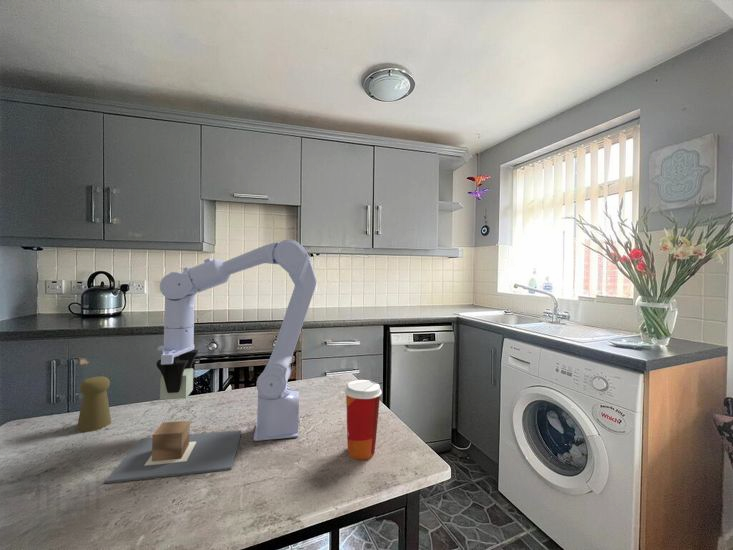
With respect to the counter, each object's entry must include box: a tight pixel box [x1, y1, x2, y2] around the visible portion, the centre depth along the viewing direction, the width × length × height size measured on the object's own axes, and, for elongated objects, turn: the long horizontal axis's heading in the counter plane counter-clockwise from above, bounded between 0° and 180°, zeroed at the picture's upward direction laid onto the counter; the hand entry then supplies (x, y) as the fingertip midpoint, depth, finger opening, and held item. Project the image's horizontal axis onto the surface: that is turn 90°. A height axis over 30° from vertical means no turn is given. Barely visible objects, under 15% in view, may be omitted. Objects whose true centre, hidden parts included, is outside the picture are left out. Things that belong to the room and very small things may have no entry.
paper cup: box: [344, 379, 383, 461], centre depth 66 cm, size 8×8×14 cm
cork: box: [76, 375, 112, 433], centre depth 73 cm, size 6×6×11 cm
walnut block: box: [151, 420, 191, 461], centre depth 63 cm, size 5×5×5 cm
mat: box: [104, 429, 243, 484], centre depth 63 cm, size 20×14×1 cm
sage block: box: [159, 367, 194, 401], centre depth 71 cm, size 5×5×5 cm
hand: (177, 387), depth 71 cm, fingers closed on sage block, 5 cm apart
